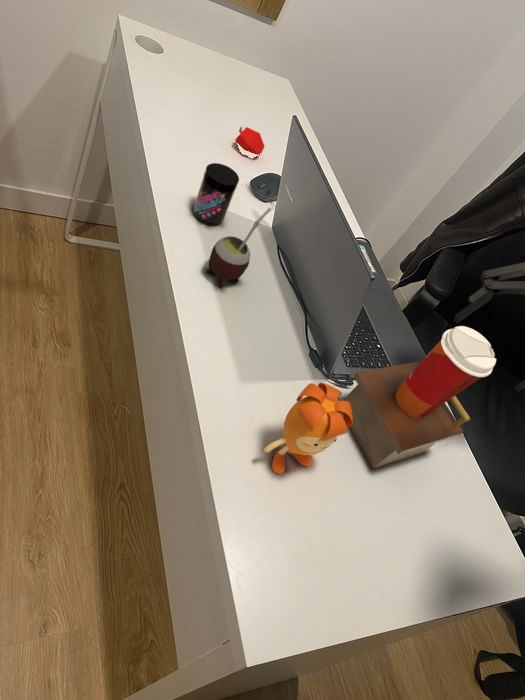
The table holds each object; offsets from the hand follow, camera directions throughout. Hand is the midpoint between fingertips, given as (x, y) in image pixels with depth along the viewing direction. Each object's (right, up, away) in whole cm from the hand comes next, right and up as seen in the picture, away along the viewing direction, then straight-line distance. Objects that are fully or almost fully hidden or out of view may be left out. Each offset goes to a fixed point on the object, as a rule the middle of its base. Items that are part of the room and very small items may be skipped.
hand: (485, 353), depth 75 cm
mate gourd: (-41, +14, +19) cm, 48 cm away
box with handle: (-14, -13, +10) cm, 21 cm away
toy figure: (-30, -15, 0) cm, 34 cm away
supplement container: (-45, +28, +28) cm, 61 cm away
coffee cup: (-10, -8, +4) cm, 13 cm away
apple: (-38, +50, +50) cm, 80 cm away
